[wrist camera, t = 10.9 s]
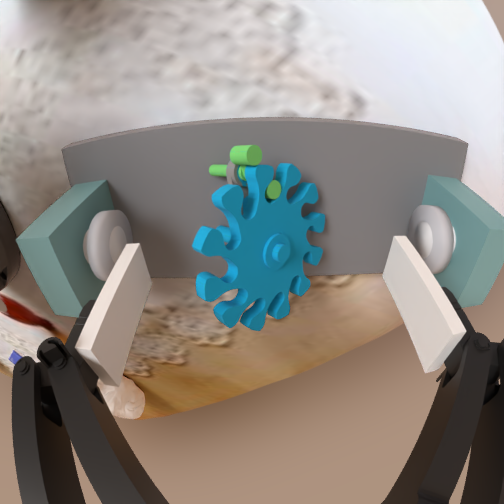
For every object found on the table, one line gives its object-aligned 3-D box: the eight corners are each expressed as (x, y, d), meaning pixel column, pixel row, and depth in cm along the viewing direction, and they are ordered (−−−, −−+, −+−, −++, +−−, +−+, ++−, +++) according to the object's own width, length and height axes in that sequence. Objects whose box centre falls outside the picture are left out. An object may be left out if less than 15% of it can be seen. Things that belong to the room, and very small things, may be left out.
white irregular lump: (88, 347, 37) (57, 399, 32) (93, 362, 31) (58, 421, 26) (146, 383, 42) (116, 431, 37) (161, 401, 36) (128, 454, 31)
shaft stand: (104, 266, 24) (64, 340, 17) (67, 144, 17) (-11, 195, 10) (429, 260, 23) (472, 330, 16) (461, 138, 16) (539, 187, 9)
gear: (333, 284, 21) (232, 367, 15) (276, 263, 25) (180, 323, 19) (325, 131, 16) (178, 168, 10) (258, 134, 20) (130, 169, 14)
